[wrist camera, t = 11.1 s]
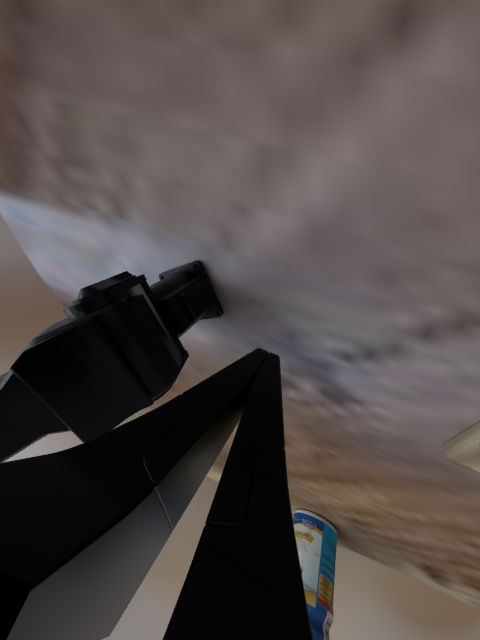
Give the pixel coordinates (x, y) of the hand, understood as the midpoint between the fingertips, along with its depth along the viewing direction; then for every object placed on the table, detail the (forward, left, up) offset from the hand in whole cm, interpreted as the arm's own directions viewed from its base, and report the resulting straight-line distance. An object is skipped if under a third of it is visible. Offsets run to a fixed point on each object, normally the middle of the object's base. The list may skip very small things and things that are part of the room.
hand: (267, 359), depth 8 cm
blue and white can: (-11, -51, -12) cm, 54 cm away
